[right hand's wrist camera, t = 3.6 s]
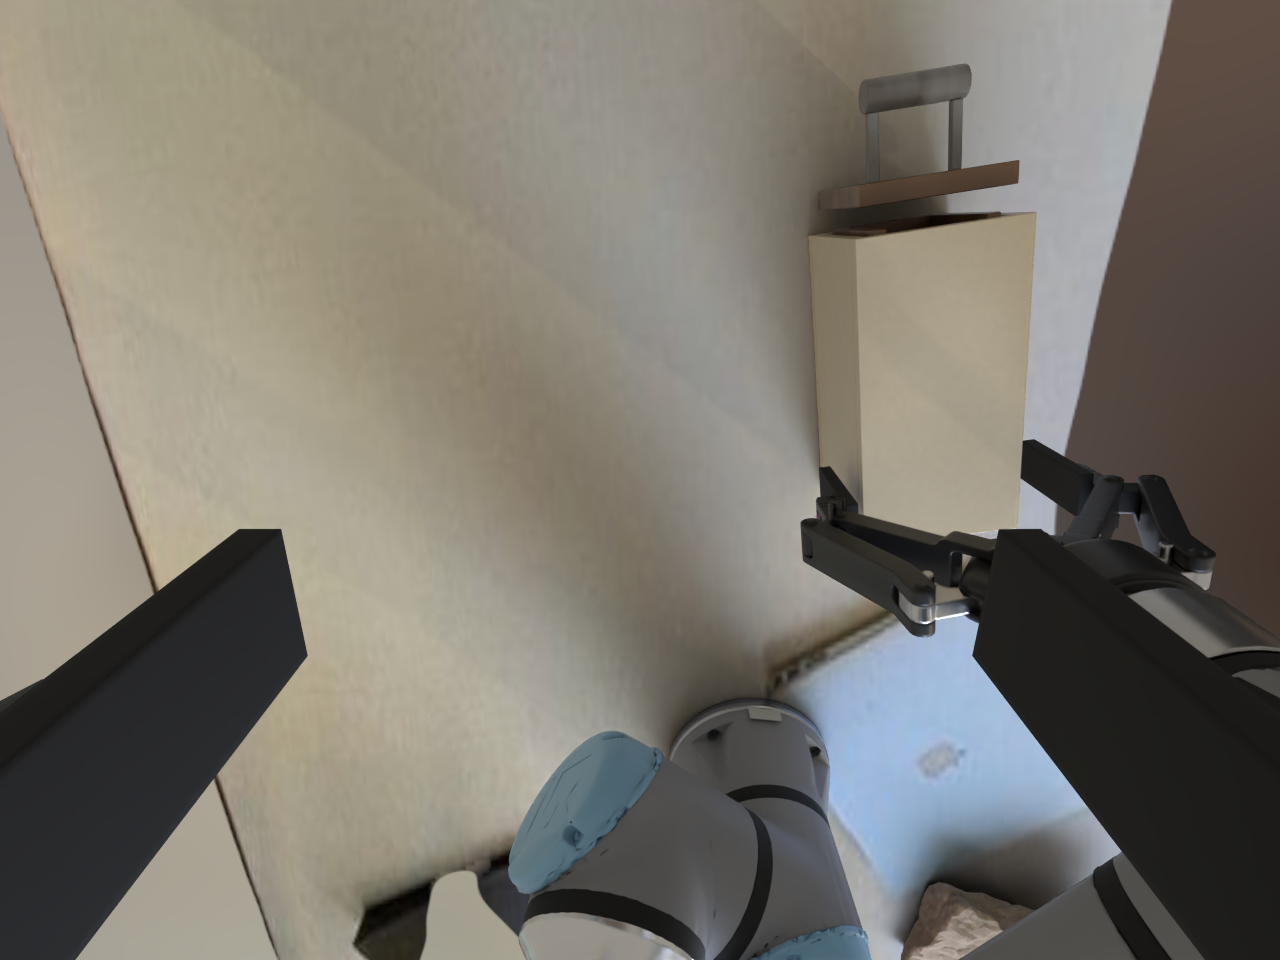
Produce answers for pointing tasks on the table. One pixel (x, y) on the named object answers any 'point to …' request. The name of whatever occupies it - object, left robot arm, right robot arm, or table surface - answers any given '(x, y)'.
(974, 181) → the drawer
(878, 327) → the cabinet
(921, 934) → the stone
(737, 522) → the table surface
